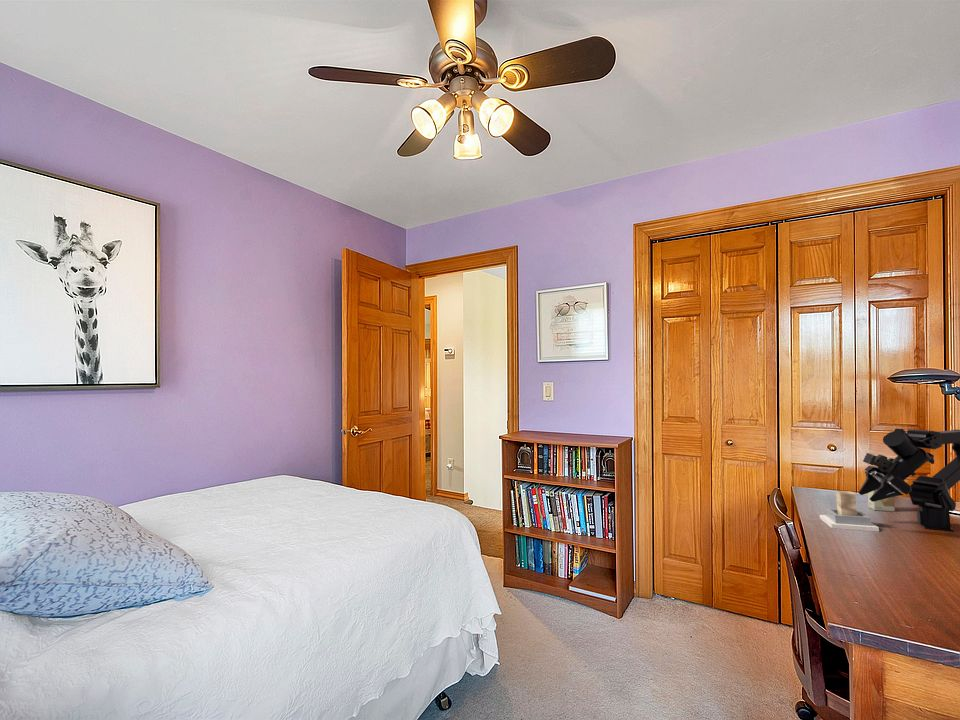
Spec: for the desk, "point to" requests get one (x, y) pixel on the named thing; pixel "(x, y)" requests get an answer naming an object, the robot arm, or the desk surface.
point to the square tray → (848, 521)
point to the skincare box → (881, 503)
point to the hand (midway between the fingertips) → (865, 497)
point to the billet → (846, 503)
